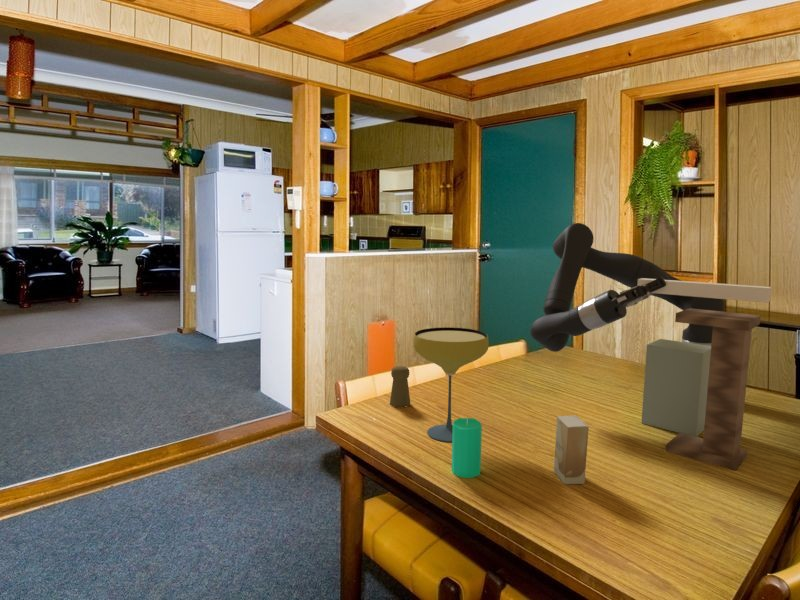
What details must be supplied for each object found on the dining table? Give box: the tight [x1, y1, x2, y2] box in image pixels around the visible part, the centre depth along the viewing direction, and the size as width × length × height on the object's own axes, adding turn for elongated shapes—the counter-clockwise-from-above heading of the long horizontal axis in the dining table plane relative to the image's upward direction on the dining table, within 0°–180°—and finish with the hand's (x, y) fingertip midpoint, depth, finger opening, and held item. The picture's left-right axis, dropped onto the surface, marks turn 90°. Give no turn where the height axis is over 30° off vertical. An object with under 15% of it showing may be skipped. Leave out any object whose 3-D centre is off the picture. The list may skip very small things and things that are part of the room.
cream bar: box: [637, 278, 773, 304], centre depth 119 cm, size 26×3×3 cm, turn 46°
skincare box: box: [553, 415, 589, 485], centre depth 109 cm, size 6×4×12 cm
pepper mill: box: [389, 365, 411, 408], centre depth 154 cm, size 6×6×11 cm
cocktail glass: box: [412, 326, 490, 443], centre depth 131 cm, size 18×18×25 cm
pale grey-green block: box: [641, 338, 711, 437], centre depth 138 cm, size 13×10×21 cm
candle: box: [451, 415, 483, 479], centre depth 112 cm, size 6×6×12 cm
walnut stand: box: [665, 308, 761, 471], centre depth 120 cm, size 14×10×32 cm
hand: (666, 280), depth 124 cm, fingers closed on cream bar, 3 cm apart
